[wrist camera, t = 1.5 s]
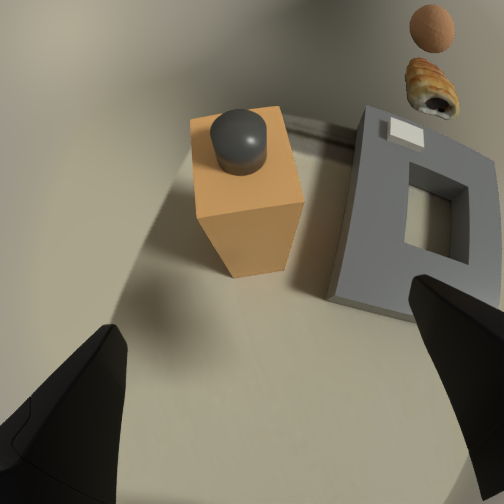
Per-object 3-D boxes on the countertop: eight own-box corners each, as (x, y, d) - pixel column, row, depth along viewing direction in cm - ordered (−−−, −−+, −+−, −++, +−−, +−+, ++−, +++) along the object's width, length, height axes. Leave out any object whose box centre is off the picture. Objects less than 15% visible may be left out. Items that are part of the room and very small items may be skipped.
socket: (473, 336, 18) (501, 334, 15) (325, 300, 20) (338, 293, 16) (478, 175, 22) (498, 157, 18) (357, 126, 24) (368, 98, 20)
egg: (440, 68, 26) (462, 26, 18) (399, 44, 28) (415, 0, 20) (445, 52, 28) (463, 15, 20) (408, 31, 29) (422, -8, 21)
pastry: (395, 60, 27) (404, 39, 23) (440, 77, 26) (451, 58, 23) (406, 110, 24) (419, 86, 21) (457, 129, 24) (472, 109, 20)
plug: (284, 270, 21) (310, 180, 8) (233, 278, 21) (185, 199, 8) (273, 212, 22) (280, 79, 9) (225, 220, 22) (181, 94, 9)
